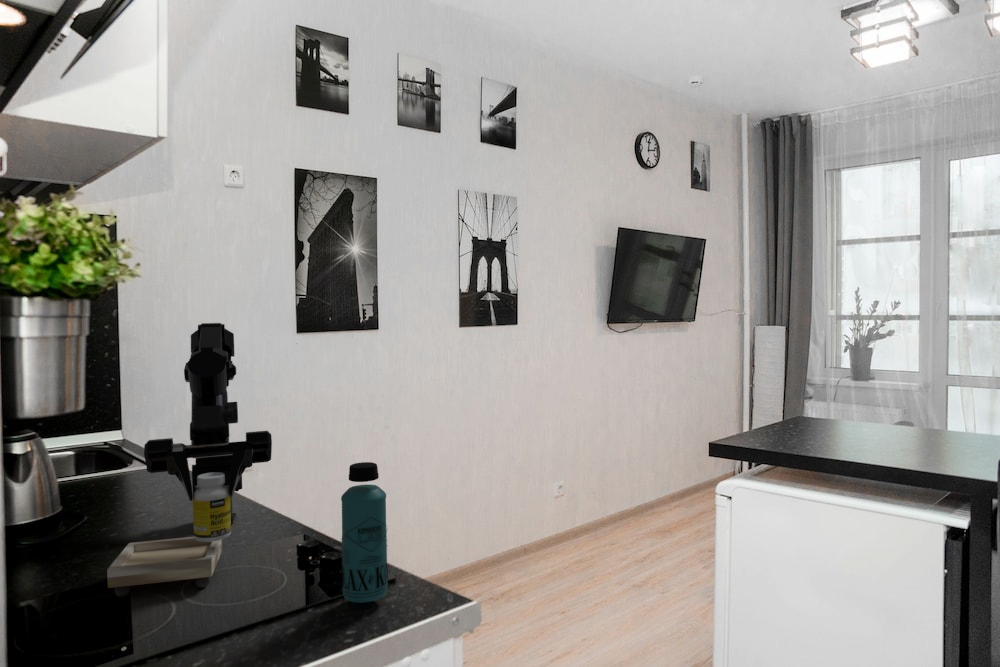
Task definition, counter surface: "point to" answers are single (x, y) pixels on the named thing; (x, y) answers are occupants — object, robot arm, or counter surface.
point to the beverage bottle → (364, 537)
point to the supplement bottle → (211, 508)
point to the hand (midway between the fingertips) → (211, 497)
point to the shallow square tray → (163, 563)
